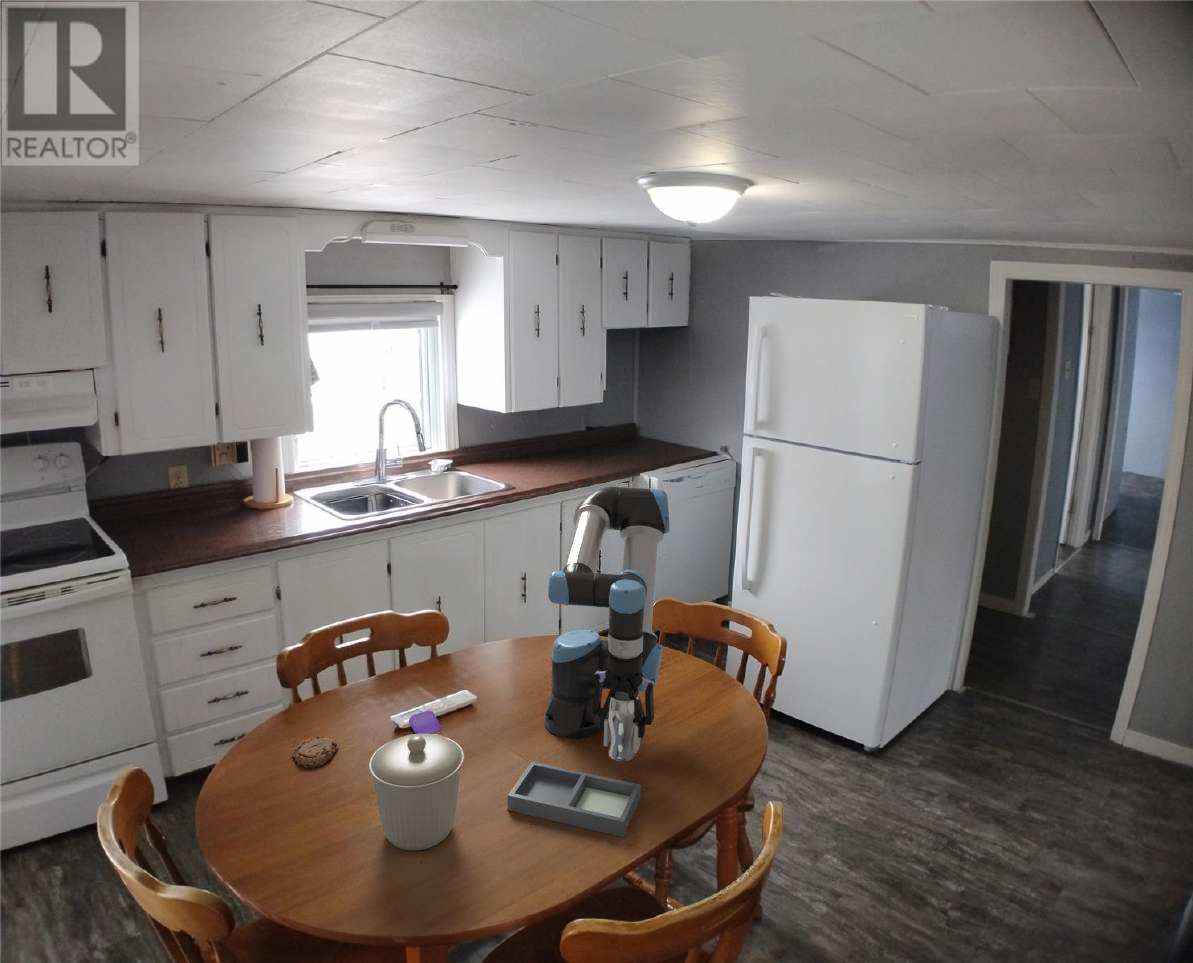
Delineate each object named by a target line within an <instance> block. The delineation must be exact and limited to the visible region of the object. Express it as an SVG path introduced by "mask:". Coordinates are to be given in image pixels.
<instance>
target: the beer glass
mask: <svg viewBox="0 0 1193 963" xmlns="http://www.w3.org/2000/svg"><path fill="white" fill-rule="evenodd" d="M608 694H609V693H608ZM639 696H640V693H639V694H638V696H637V698H636V699H637V700H638V699H639ZM636 699H633V700H631V699H630V698H629V695H628V693H625V692H617V691H616V694H615V696H614V698H613V697H612V696H611V694H609V700H608V713H607V715H608V724H609V730H610V742H609V744H608V745H609V746H608V750H607V755H608V757H609V758H610V759H612V760H613V761H616V762H629V761H630V760H633V759H634V758H635V756H636V753H635V752H634V728H635V725H636V724H637V723H638V722H637V719H636Z"/></svg>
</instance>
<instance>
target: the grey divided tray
mask: <svg viewBox="0 0 1193 963" xmlns="http://www.w3.org/2000/svg"><path fill="white" fill-rule="evenodd" d="M640 800H641V784H639V783H633V782H630V781H626V780H620V779H615V778H611V777H606V776H603V775H602V776H601V775H597V774H592V773H588V772H582V771H577V770H574V769H568V768H564V767H560V766H554V765H550V764H544V763H541V762H535V761H531V762H530V763H529V764H528V766H527V768H525V770H524V771H523V773H522V774H521V776H520V777H519V779H518V780H517V782H516V783H515V784H514V786H513V787H512V788H511V790H510V791H509V793H508V794H507V811H511V812H514V813H518V814H522V815H527V816H531V817H535V818H540V819H544V820H548V821H552V822H557V823H561V824H565V825H569V826H574V827H578V828H583V829H587V830H592V831H594V832H595V831H596V832H599V833H603V834H609V835H611V836H616V837H621V838H624V837H625V834H626V831H627V830H628V827H629V825H630V823H631V820H632V818H633V817H634V816H633V815H634V813H635V812H636V809H637V807H638V805H639V802H640Z"/></svg>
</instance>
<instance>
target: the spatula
mask: <svg viewBox="0 0 1193 963" xmlns="http://www.w3.org/2000/svg"><path fill="white" fill-rule="evenodd" d="M408 724H409V726H410V727H411V729H412V731H413V732H414V734H435V735H439V736H441V735H440V734H437V733H436V732H439V731H441V730H442V727H441V725H440V723H439V720H438V718H437V717H436V714H435V713H434V711H433V710H424V711H421V712H418V713H415V714H412V715H411V716H410V717H409V719H408Z"/></svg>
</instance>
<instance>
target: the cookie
mask: <svg viewBox="0 0 1193 963" xmlns="http://www.w3.org/2000/svg"><path fill="white" fill-rule="evenodd" d="M338 750H339V745H338V742H336V740H334V739H333V738H329V737H322V736H320V735H315V736H311V737H310V738H307V739H304V740H302V741H301V742H299V743H298V745H296V746H295V748H293V750H292V752H291V754H292V756H293V758H294V759H295V760H294V762H295V763H296V765H298V766H301V767H303V768H305V769H309V768H312V769H314V768H318V767H321V766H323V765H326V763H328V761H331V759H332V758H333V756H334V755H335V753H336V752H338Z"/></svg>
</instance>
